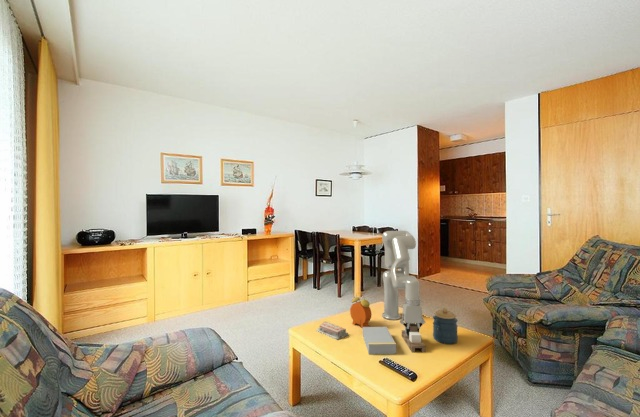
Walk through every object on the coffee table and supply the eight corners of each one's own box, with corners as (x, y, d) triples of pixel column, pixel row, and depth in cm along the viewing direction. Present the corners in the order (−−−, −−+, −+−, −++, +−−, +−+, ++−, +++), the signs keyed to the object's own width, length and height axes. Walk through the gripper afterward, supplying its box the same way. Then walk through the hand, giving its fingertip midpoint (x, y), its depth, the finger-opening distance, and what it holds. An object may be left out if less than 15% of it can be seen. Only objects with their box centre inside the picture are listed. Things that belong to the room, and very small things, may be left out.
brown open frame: (401, 336, 171) (401, 318, 171) (413, 335, 171) (413, 318, 171) (411, 352, 152) (411, 332, 152) (425, 352, 152) (425, 332, 152)
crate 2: (409, 339, 160) (409, 331, 160) (418, 339, 160) (418, 331, 160) (411, 342, 156) (411, 335, 156) (421, 342, 156) (420, 335, 156)
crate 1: (405, 332, 168) (404, 325, 168) (413, 332, 168) (413, 325, 168) (407, 335, 164) (407, 328, 164) (416, 335, 164) (415, 328, 164)
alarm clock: (372, 327, 184) (371, 295, 184) (365, 329, 181) (365, 297, 180) (356, 321, 195) (356, 290, 195) (350, 323, 191) (349, 292, 191)
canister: (434, 332, 175) (434, 303, 175) (458, 337, 169) (458, 306, 169) (431, 341, 164) (430, 310, 164) (456, 346, 158) (456, 314, 158)
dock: (362, 335, 173) (362, 326, 173) (386, 335, 173) (386, 326, 173) (368, 354, 151) (368, 344, 151) (396, 354, 151) (396, 343, 151)
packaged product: (348, 327, 174) (337, 332, 167) (348, 335, 174) (337, 341, 167) (326, 319, 187) (315, 323, 180) (326, 326, 187) (315, 331, 180)
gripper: (425, 299, 165) (425, 331, 165) (395, 299, 165) (395, 332, 165) (430, 303, 158) (430, 337, 158) (399, 304, 158) (399, 338, 158)
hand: (412, 334), depth 162 cm, fingers closed on brown open frame, 4 cm apart
